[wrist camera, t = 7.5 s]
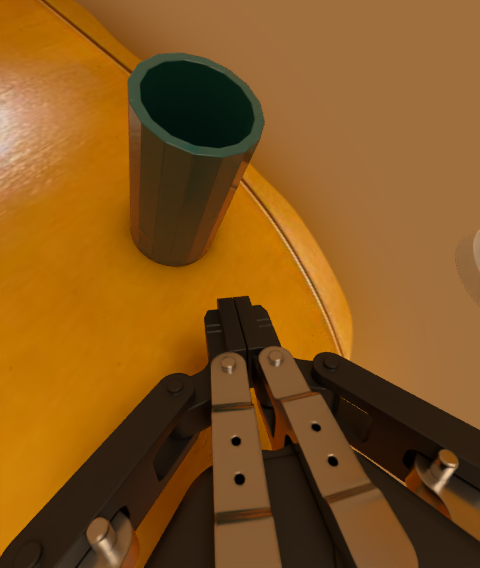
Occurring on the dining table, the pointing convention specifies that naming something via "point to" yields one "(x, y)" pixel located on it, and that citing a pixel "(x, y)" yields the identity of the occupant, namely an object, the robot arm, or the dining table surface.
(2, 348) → the dining table surface
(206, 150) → the cup
